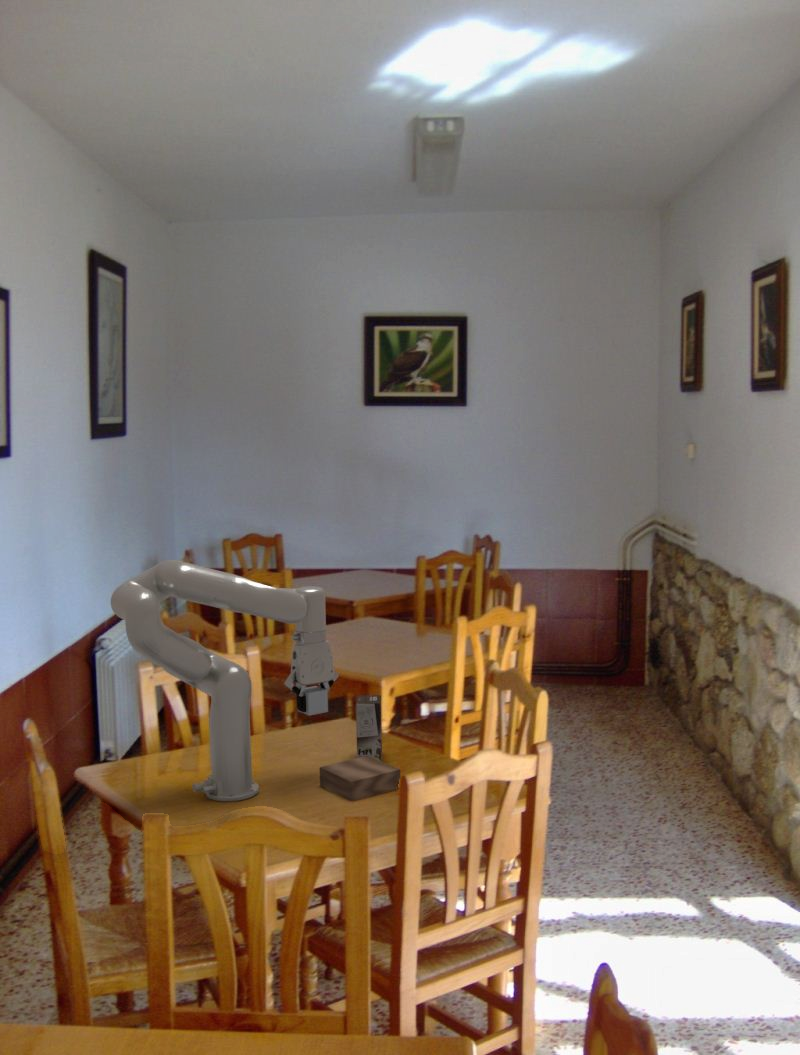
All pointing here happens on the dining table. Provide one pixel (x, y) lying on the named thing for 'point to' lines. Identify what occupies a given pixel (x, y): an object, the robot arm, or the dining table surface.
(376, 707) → the coffee box
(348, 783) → the walnut block
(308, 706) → the grey blue cube
